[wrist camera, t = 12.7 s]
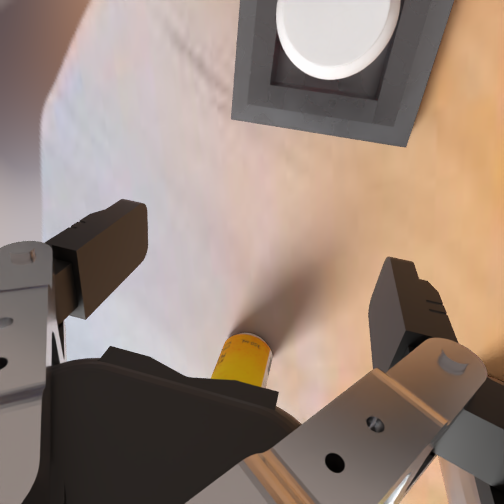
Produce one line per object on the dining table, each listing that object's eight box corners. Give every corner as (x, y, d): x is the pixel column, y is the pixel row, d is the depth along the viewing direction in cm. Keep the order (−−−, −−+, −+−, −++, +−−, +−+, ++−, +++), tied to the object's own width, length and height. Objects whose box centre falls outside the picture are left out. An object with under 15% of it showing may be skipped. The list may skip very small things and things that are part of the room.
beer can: (222, 327, 44) (174, 442, 32) (272, 331, 43) (242, 453, 30) (228, 363, 47) (185, 481, 35) (274, 368, 46) (248, 493, 33)
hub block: (475, -86, 23) (501, -112, 19) (402, 141, 30) (410, 156, 26) (255, -104, 24) (239, -130, 21) (237, 115, 32) (222, 125, 28)
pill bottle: (335, -60, 23) (329, -130, 14) (406, 7, 24) (446, -16, 15) (275, 32, 26) (238, 27, 17) (340, 89, 27) (338, 113, 18)
